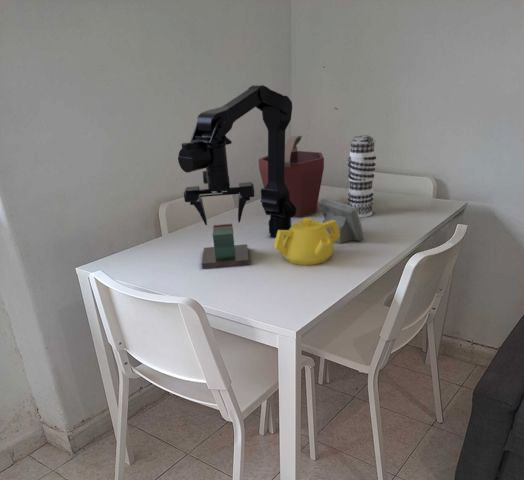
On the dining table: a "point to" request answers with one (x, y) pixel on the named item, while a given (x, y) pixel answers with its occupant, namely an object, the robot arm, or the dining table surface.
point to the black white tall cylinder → (361, 174)
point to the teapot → (307, 241)
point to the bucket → (299, 176)
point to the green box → (223, 241)
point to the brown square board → (239, 260)
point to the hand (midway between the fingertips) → (222, 223)
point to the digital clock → (343, 220)
